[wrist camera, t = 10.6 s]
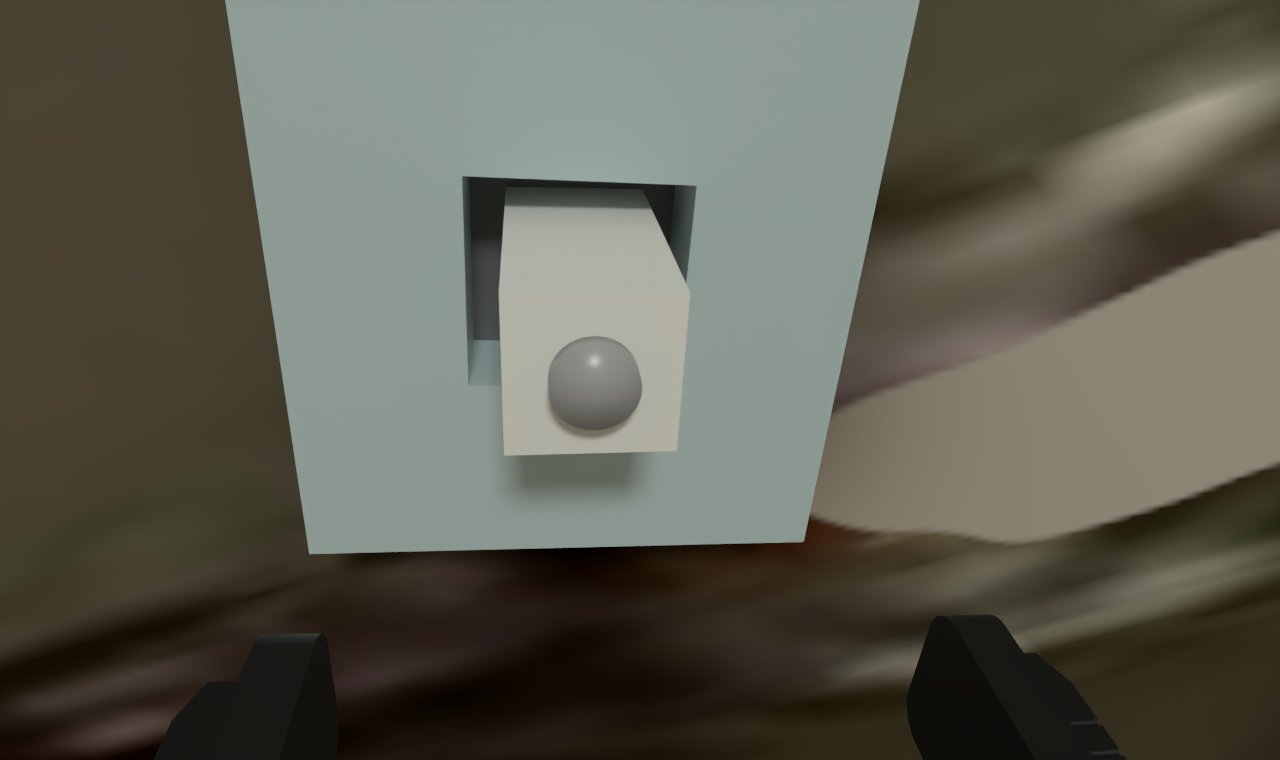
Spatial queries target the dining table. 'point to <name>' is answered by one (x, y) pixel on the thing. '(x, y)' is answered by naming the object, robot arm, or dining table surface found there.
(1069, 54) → the dining table surface
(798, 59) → the outlet block
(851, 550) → the dining table surface
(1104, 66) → the dining table surface
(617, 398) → the cream block with knob
